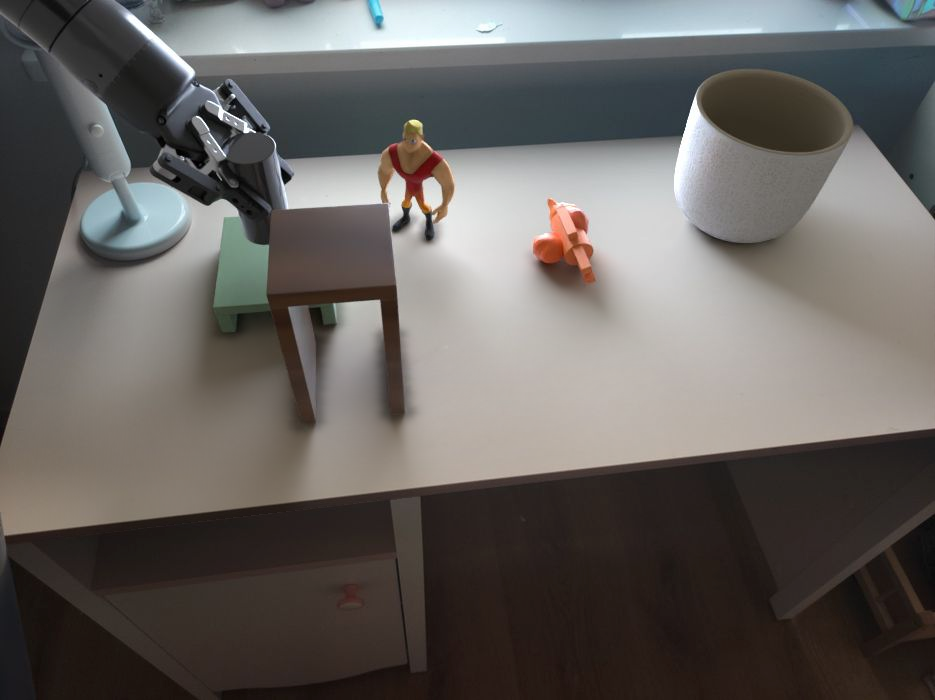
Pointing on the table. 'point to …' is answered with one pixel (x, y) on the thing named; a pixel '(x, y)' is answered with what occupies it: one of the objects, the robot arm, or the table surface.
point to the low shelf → (246, 278)
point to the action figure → (416, 174)
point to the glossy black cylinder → (257, 178)
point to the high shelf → (331, 286)
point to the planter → (757, 153)
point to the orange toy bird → (566, 239)
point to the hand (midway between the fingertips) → (277, 197)
